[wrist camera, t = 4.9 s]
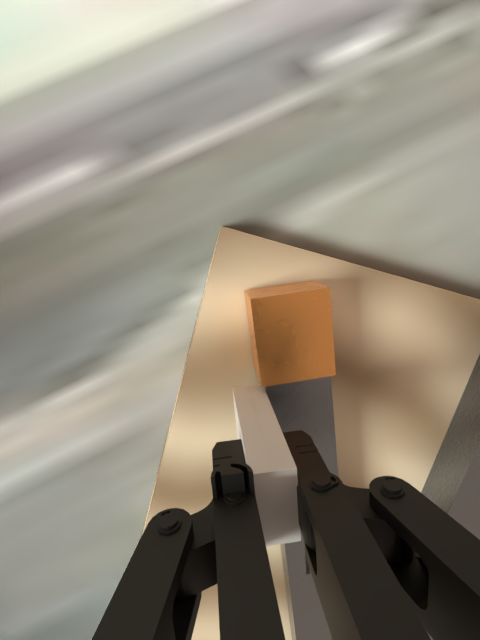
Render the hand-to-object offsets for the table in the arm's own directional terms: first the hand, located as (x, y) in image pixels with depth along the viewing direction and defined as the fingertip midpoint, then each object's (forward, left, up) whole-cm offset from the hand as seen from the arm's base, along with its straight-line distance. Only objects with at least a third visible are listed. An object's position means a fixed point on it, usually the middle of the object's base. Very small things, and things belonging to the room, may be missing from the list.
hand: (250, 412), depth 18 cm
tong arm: (-6, -5, -1) cm, 8 cm away
